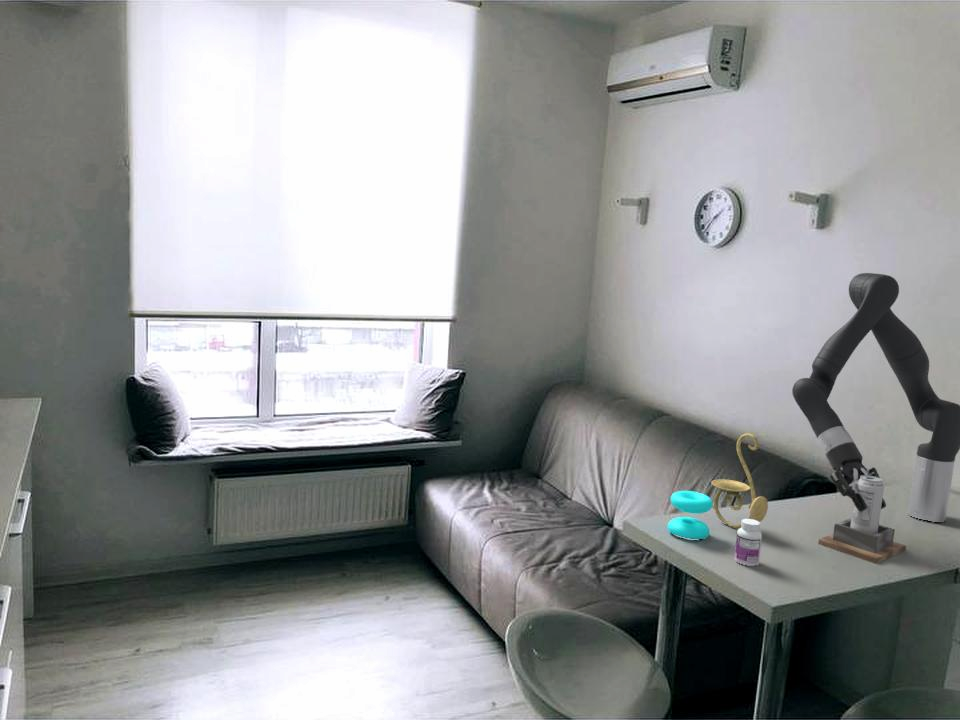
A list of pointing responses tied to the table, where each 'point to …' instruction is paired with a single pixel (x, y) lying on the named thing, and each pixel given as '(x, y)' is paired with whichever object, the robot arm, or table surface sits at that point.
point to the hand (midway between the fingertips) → (873, 508)
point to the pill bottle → (748, 543)
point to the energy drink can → (868, 504)
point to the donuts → (690, 504)
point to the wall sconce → (741, 489)
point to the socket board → (863, 542)
